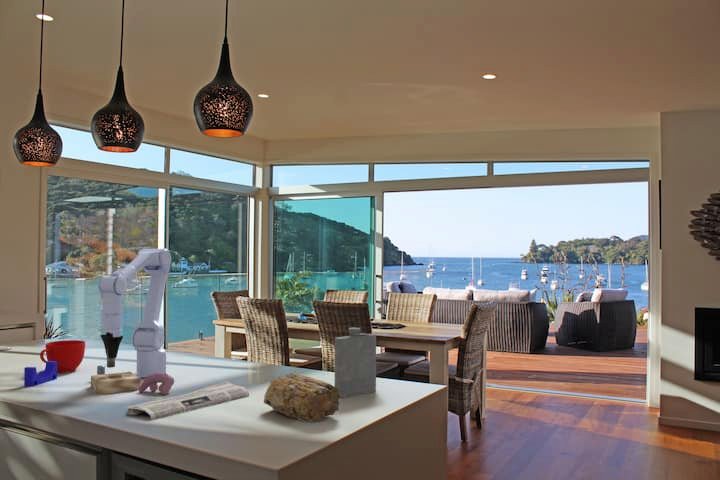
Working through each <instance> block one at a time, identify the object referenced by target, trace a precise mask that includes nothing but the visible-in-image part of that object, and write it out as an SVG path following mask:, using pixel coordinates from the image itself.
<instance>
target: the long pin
mask: <svg viewBox="0 0 720 480" xmlns="http://www.w3.org/2000/svg"><path fill="white" fill-rule="evenodd" d="M115 367H116V358H111V359H109V357H108V351H107V356H106V368H109V369H110V368H111V369H112V368H115Z"/></svg>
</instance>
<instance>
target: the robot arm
mask: <svg viewBox="0 0 720 480" xmlns="http://www.w3.org/2000/svg"><path fill="white" fill-rule="evenodd" d="M171 263H172V255H171V252H170V250H169V249H168V248H145V247H144V248H143V247H142V248H141V249H140V250H139V251H138V252H137V256H136V257H135V258H134V259H133V260H132V261H131V262H130V263H129V264H126V263H125V264H124V263H123V264H121V265H120V266H119V268H117V269H116V270H115V271H113V272H112V273H111V274H110V275H108V276H107V275H105V276H104V277H102V278H101V279H100V281H99V283H98V287H97V288H98V291H99V294H100V299H101V301H102V307H101V308H102V309H101V310H102V311H101V312H102V314H101V315H102V316H101V321H102V322H101V327H100V328H98V329H97V331H98V332H102V333H105V334H100V335H99V336H100V338H101V340H102V342H103V345H104V351H105V355H106V357H107V351H108V357H109V359H111V358H115V359H117V357H118V353H119V347H120V346H121V345H120V344H121V342H122V341H123V339H124V335H121V332H122V331H123V327H122V325H123V324H122V320H123V319H122V318H123V317H122V316H123V315H122V314H123V311H122V310H123V309H122V308H123V294H125V292H126V289H127V287H128V285H129V284H130V283H131V282H133V280H134V279H136V278H137V273H138V272H139V271H140V270H142V269H143V270H144V271H145V273H146V274H147V275H150V276H149V277H150V280H149V286H148V290H147V296H146V300H145V307H144V312H143V317H142V320H141V321H140V322H138V323H137V324H136V325H135V326H134V330H133V332H132V335H131V338H130V339H131V341H130V342H131V345H132V347H133V348H134V351H136V372H132V373H133V374H134V375H136V376H138V377H139V378H140V379H141V378H146V376H148V375H149V374H150V373H151V374H154V373H165V374H167V354H166V350H165V348H162V347H163V345H164V342H165V327H163V325H162V324H161V323H160V322H159V320H160V314H161V309H162V304H163V298H164V294H165V292H164V291H165V287H166V282H167V276H168V274H170V268H171V265H172V264H171Z"/></svg>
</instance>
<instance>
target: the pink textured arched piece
mask: <svg viewBox="0 0 720 480" xmlns="http://www.w3.org/2000/svg"><path fill="white" fill-rule="evenodd" d="M158 383H161V384H159V385H158ZM174 383H175V378H174V377H173V376H171V375H170V374H167V373H166V374H165V373H154V374H151V373H150V374H149V375H148V376H146V377H144V379H143V381H142V382H140V386H139V390H138V392H139V393H140V394H141V393H144V392H145V391H147V389H148V388H149V390H150V391H151V392H153V393H154V392H156V391H159V392H160V393H161V394H162V395H163V396H166V395H168V393H169V392H170V391H171V388H172V387H173V386H174Z"/></svg>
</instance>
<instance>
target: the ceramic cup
mask: <svg viewBox="0 0 720 480" xmlns="http://www.w3.org/2000/svg"><path fill="white" fill-rule="evenodd" d="M44 347H45V348H44V349H42V350H41V351H40V354H39V357H40V360H41V361H42V363H44V364H46V362H48V361H57V373H72V372H75V371H76V370H77V369H78V367H79V366H80V365H81V363H82V362H83V359H84V355H85V352H86V341H84V340H76V339H73V340H70V339H69V340H55V341H50V342H46V343H45V345H44ZM44 354H45V356H46V359H45V357H44Z"/></svg>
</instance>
